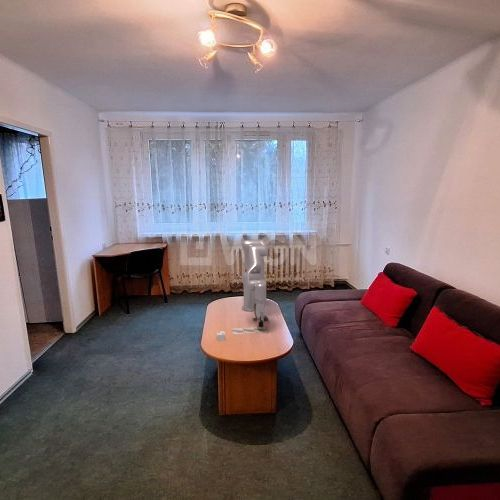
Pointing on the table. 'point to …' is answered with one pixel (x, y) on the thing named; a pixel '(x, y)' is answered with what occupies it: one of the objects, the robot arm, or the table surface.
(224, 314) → the table surface
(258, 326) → the pink cylindrical peg
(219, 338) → the die
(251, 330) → the game board
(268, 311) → the table surface
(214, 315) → the table surface
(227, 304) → the table surface
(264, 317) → the worn brown figurine
